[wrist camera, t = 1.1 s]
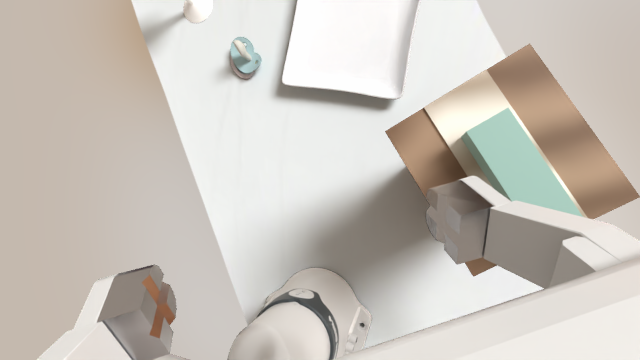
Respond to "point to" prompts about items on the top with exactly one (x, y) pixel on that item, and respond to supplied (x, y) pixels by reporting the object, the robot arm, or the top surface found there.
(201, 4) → the champagne flute
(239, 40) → the pacifier
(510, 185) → the bar
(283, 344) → the robot arm
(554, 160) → the stand
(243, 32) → the top surface
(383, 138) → the top surface
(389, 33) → the salad plate
